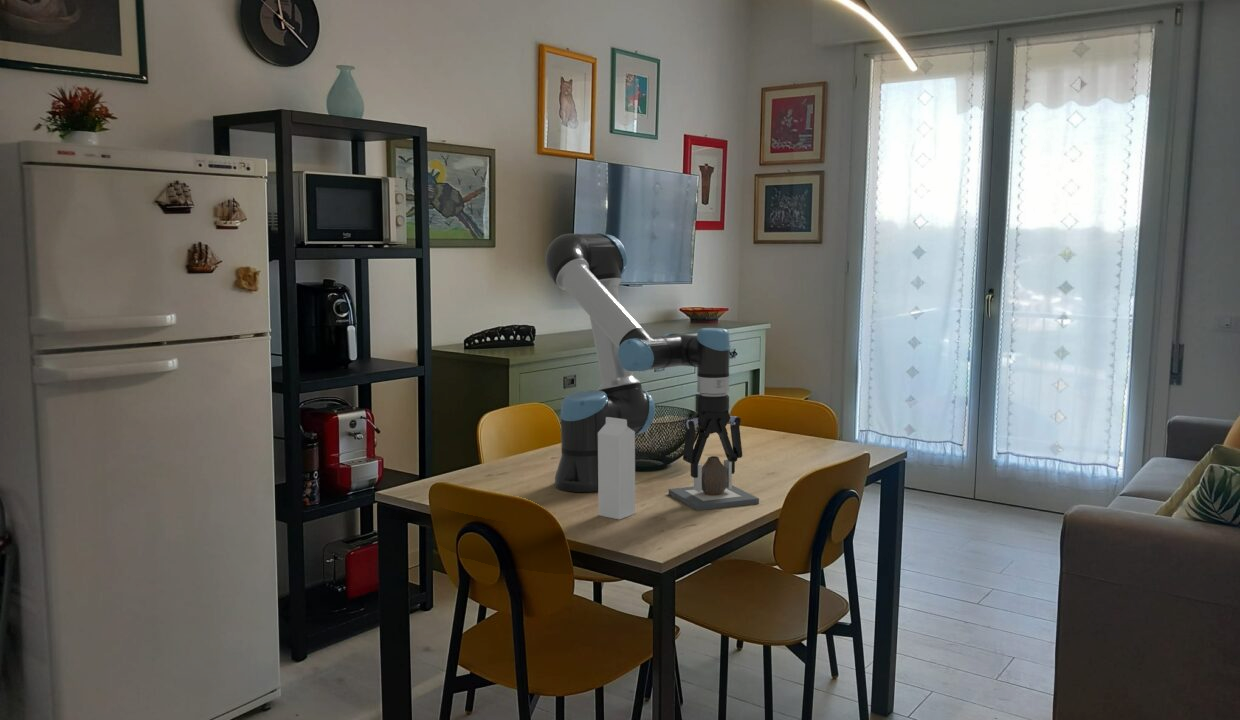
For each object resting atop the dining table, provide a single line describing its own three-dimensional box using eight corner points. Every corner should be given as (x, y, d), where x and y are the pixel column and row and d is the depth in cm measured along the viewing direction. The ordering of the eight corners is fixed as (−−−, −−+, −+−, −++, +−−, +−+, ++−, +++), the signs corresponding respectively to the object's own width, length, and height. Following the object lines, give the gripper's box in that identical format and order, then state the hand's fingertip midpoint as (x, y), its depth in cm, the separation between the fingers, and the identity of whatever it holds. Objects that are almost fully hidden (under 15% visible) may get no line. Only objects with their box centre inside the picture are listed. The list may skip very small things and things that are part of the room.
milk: (614, 509, 216) (613, 414, 214) (635, 514, 212) (635, 417, 210) (597, 515, 211) (597, 418, 209) (619, 520, 207) (618, 421, 205)
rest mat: (697, 510, 214) (697, 505, 214) (668, 493, 229) (668, 488, 229) (758, 503, 220) (759, 498, 220) (727, 487, 235) (727, 482, 235)
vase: (729, 497, 221) (729, 460, 220) (699, 496, 221) (699, 460, 220) (726, 489, 228) (726, 454, 227) (697, 489, 228) (698, 454, 227)
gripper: (680, 398, 215) (680, 497, 217) (758, 393, 222) (757, 488, 225) (667, 394, 222) (667, 489, 224) (743, 389, 229) (742, 481, 232)
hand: (712, 488), depth 224 cm, fingers open, 7 cm apart
